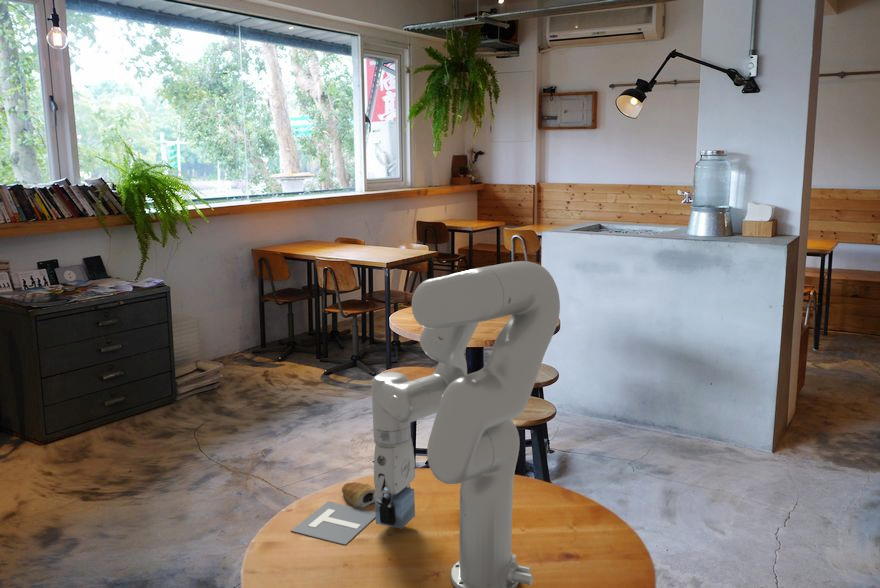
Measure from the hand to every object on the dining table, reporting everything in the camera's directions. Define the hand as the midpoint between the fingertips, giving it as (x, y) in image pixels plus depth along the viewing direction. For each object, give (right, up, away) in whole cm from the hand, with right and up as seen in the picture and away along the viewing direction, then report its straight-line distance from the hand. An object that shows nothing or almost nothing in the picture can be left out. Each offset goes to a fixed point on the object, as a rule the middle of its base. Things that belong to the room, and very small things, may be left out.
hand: (395, 515), depth 158 cm
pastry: (-9, -1, +13) cm, 16 cm away
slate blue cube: (0, -1, 0) cm, 1 cm away
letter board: (-13, -2, +3) cm, 13 cm away
